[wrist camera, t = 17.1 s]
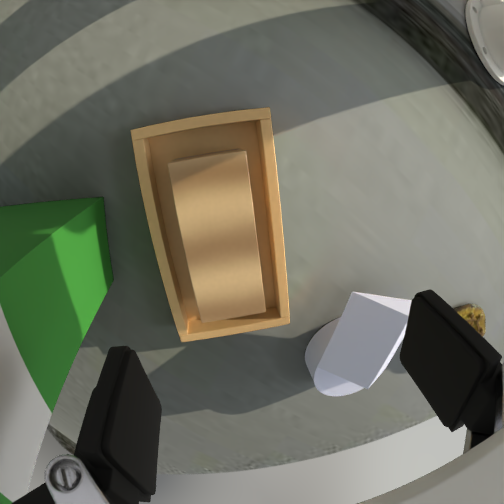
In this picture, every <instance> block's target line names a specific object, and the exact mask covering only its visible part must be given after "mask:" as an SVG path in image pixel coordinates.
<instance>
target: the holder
mask: <svg viewBox="0 0 504 504" xmlns="http://www.w3.org/2000/svg"><path fill="white" fill-rule="evenodd" d="M270 118H271V113H270V108H269V107H267V108H257V109H247V110H238V111H230V112H223V113H215V114H209V115H202V116H196V117H190V118H185V119H179V120H174V121H169V122H164V123H159V124H155V125H150V126H146V127H141V128H137V129H133V130H131V137H132V143H133V149H134V155H135V161H136V167H137V172H138V177H139V182H140V188H141V193H142V197H143V202H144V207H145V212H146V216H147V221H148V225H149V229H150V233H151V238H152V242H153V246H154V250H155V254H156V258H157V262H158V265H159V269H160V273H161V277H162V280H163V284H164V287H165V291H166V295H167V298H168V301H169V305H170V308H171V311H172V315H173V318H174V321H175V324H176V328H177V331H178V334H179V337H180V340H181V342H188V341H195V340H201V339H208V338H214V337H221V336H227V335H233V334H238V333H244V332H250V331H255V330H260V329H266V328H271V327H276V326H281V325H286V324H290V317H289V301H288V288H287V275H286V262H285V250H284V238H283V227H282V216H281V206H280V196H279V186H278V176H277V166H276V157H275V148H274V140H273V131H272V122H271V119H270ZM231 149H242V150H245V151H246V155H247V163H248V171H249V178H250V186H251V194H252V202H253V210H254V218H255V226H256V234H257V242H258V250H259V258H260V267H261V275H262V283H263V291H264V300H265V308H266V312H263V313H258V314H252V315H247V316H241V317H236V318H230V319H224V320H218V321H212V322H206V323H202V322H201V318H200V314H199V310H198V306H197V302H196V298H195V294H194V290H193V286H192V282H191V278H190V273H189V269H188V265H187V260H186V256H185V251H184V247H183V242H182V238H181V233H180V228H179V223H178V218H177V213H176V208H175V203H174V198H173V192H172V187H171V181H170V176H169V170H168V163H169V162H171V161H172V160H174V159H177V158H183V157H188V156H194V155H200V154H206V153H212V152H218V151H225V150H231Z"/></svg>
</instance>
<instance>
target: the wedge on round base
mask: <svg viewBox="0 0 504 504" xmlns="http://www.w3.org/2000/svg"><path fill="white" fill-rule="evenodd" d="M411 301H412V300H406V299H399V298H392V297H386V296H379V295H372V294H365V293H359V292H352V293H351V295H350V298H349V300H348V302H347V305H346V307H345V309H344V311H343V314H342V316H341V317H340V318H337V319H335V320H333V321H331V322H329V323H328V324H326V325H325V326H323V327H322V328H321V329H320V330H319V331H318V332H317V333H316V334H315V335H314V336H313V337H312V339H311V340H310V342H309V344H308V346H307V348H306V352H305V362H306V365H307V367H308V370H309V372H310V374H311V377H312V379H313V381H314V384H315V386H316V388H317V389H318V390H319V391H320V392H321V393H323V394H325V395H329V396H344V395H348V394H352V393H355V392H357V391H359V390H361V389H363V388H366V389H368V388H369V387H370V386H371V385H372V384H373V383H374V381H375V380H376V379H377V378H378V377H379V376H380V375H381V374H382V372H383V371H384V370H385V368H386V367H387V365H388V363H389V362H390V360H391V358H392V357H393V355H394V353H395V352H396V350H397V348H398V346H399V345H400V343H401V341H402V339H403V337H404V335H405V331H406V326H407V321H408V316H409V311H410V306H411Z"/></svg>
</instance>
